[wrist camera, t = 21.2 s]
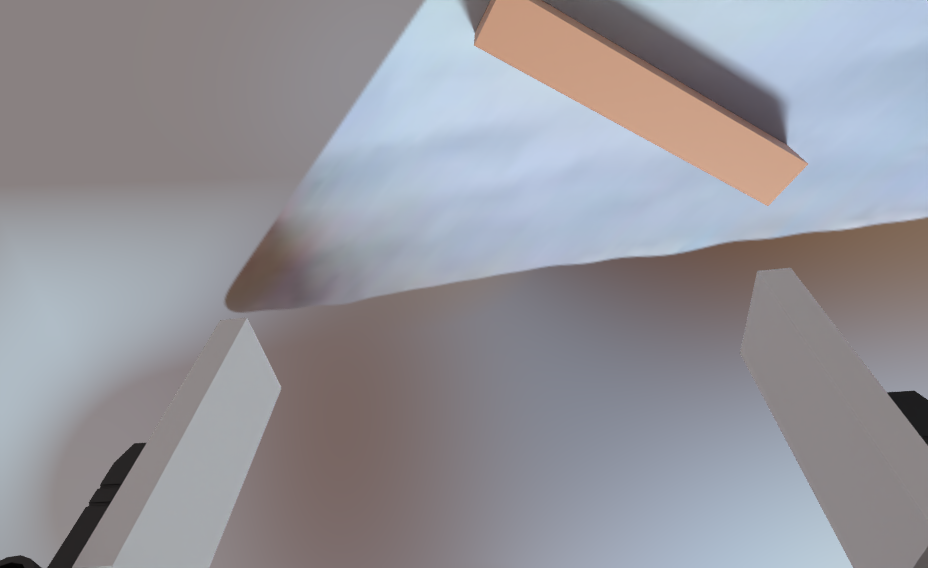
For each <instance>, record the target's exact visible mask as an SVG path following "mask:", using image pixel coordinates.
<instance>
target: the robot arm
mask: <svg viewBox="0 0 928 568" xmlns="http://www.w3.org/2000/svg"><path fill="white" fill-rule="evenodd" d="M740 354H741V356H742V358H743V359H744V362H745V363H746V365H747V367H748V369H749V371H750V373H751V375H752V377H753V379H754V380H755V382H756V384H757V386H758V388H759V390H760V392H761V394H762V396H763V397H764V399H765V401H766V403H767V405H768V407H769V409H770V411H771V413H772V415H773V416H774V418H775V420H776V422H777V424H778V426H779V428H780V430H781V432H782V434H783V435H784V437H785V439H786V441H787V443H788V445H789V447H790V449H791V450H792V452H793V454H794V456H795V458H796V460H797V462H798V464H799V466H800V468H801V469H802V471H803V473H804V475H805V477H806V479H807V481H808V483H809V485H810V487H811V488H812V490H813V492H814V494H815V496H816V498H817V500H818V502H819V504H820V506H821V507H822V509H823V511H824V513H825V515H826V517H827V519H828V520H829V522H830V524H831V526H832V528H833V530H834V532H835V534H836V536H837V538H838V540H839V541H840V543H841V545H842V547H843V549H844V551H845V553H846V555H847V557H848V559H849V560H850V562H851V564H852V566H853V568H928V400H927V399H926V398H924V397H922V396H921V395H920V394H918V393H917V392H915V391H903V392H889V393H887V392H886V391H885V390H884V389H883V387H882V386H881V385H880V383H879V382H878V381H877V379H876V378H875V377H874V375H872V373H871V371H870V370H869V369H868V368H867V366H866V365H865V364H864V362H863V361H862V360H861V359H860V357H859V356H858V355H857V353H856V352H855V351H854V349H853V348H852V347H851V346H850V344H849V343H848V342H847V340H846V339H845V338H844V337H843V335H842V334H841V333H840V332H839V330H838V329H837V327H836V326H835V325H834V323H833V322H832V321H831V320H830V318H829V317H828V316H827V314H826V313H825V312H824V310H823V309H822V308H821V307H820V305H819V304H818V303H817V302H816V300H815V299H814V298H813V296H812V295H811V294H810V292H809V291H808V290H807V288H806V287H805V286H804V285H803V283H802V282H801V281H800V279H799V278H798V277H797V275H796V274H795V273H794V272H793V270H792V269H791V268H785V269H774V270H763V271H757V275H756V280H755V285H754V290H753V295H752V299H751V304H750V309H749V313H748V318H747V323H746V328H745V332H744V337H743V342H742V346H741V351H740ZM280 390H281V386H280V384H279V382H278V380H277V378H276V376H275V374H274V372H273V370H272V368H271V366H270V363H269V361H268V359H267V357H266V355H265V354H264V351H263V349H262V347H261V345H260V343H259V341H258V339H257V337H256V335H255V333H254V331H253V329H252V327H251V325H250V323H249V321H248V319H247V318H240V319H229V320H220V322H219V323H218V325H217V327H216V328H215V330H214V332H213V334H212V335H211V337H210V338H209V340H208V342H207V343H206V345H205V347H204V348H203V350H202V352H201V353H200V355H199V357H198V358H197V360H196V362H195V363H194V365H193V367H192V368H191V370H190V372H189V374H188V375H187V377H186V378H185V380H184V382H183V383H182V385H181V387H180V388H179V390H178V392H177V393H176V395H175V397H174V398H173V400H172V402H171V404H170V405H169V407H168V408H167V410H166V412H165V413H164V415H163V417H162V418H161V420H160V422H159V423H158V425H157V427H156V428H155V430H154V432H153V433H152V435H151V437H150V438H149V440H148V442H147V443H135V444H133V445H132V446H131V447H130V448H129V449H128V450H127V451H126V452H125V453H124V454H123V455H122V456H121V457H120V458H119V459H118V460H117V461H116V462H115V463H114V464H113V465H112V467H111V469H110V470H109V472H108V473H107V475H106V476H105V478H104V480H103V481H102V483H101V485H100V486H101V487H100V489H97V491H96V492H95V494H94V495H93V497H92V498H91V500H90V502H89V506H88V507H86V508H85V509H84V511H83V513H82V514H81V516H80V517H79V519H78V520H77V522H76V524H75V525H74V527H73V528H72V530H71V531H70V533H69V535H68V536H67V538H66V539H65V541H64V542H63V544H62V546H61V547H60V549H59V550H58V552H57V553H56V555H55V557H54V558H53V560H52V561H51V563H50V564H49V566H48V568H209V567H210V564H211V562H212V559H213V556H214V554H215V552H216V549H217V547H218V544H219V542H220V540H221V537H222V534H223V532H224V530H225V527H226V525H227V522H228V519H229V517H230V514H231V512H232V510H233V507H234V505H235V502H236V500H237V497H238V495H239V492H240V490H241V487H242V485H243V482H244V480H245V477H246V475H247V472H248V470H249V467H250V465H251V462H252V460H253V457H254V455H255V452H256V450H257V447H258V445H259V442H260V440H261V438H262V435H263V433H264V430H265V427H266V425H267V423H268V420H269V418H270V415H271V413H272V410H273V408H274V405H275V403H276V400H277V398H278V395H279V392H280ZM0 568H41V567H40V566H39V565H37V564H36V563H35V562H34V561H32V560H31V559H30V558H27V557H24V556H21V555H20V556H14V557H7V558H5V559H3V560H0Z"/></svg>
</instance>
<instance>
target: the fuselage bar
mask: <svg viewBox="0 0 928 568" xmlns="http://www.w3.org/2000/svg"><path fill="white" fill-rule="evenodd" d="M474 46H476V47H478V48H480V49H482V50H484V51H485V52H487V53H489V54H491V55H493V56H495V57H496V58H498V59H500V60H502V61H504V62H505V63H507V64H509V65H511V66H513V67H515V68H516V69H518V70H520V71H522V72H524V73H526V74H527V75H529V76H531V77H533V78H535V79H537V80H538V81H540V82H542V83H544V84H546V85H548V86H549V87H551V88H553V89H555V90H557V91H558V92H560V93H562V94H564V95H566V96H568V97H569V98H571V99H573V100H575V101H577V102H579V103H580V104H582V105H584V106H586V107H588V108H590V109H591V110H593V111H595V112H597V113H599V114H601V115H602V116H604V117H606V118H608V119H610V120H611V121H613V122H615V123H617V124H619V125H621V126H622V127H624V128H626V129H628V130H630V131H632V132H633V133H635V134H637V135H639V136H641V137H643V138H644V139H646V140H648V141H650V142H652V143H654V144H655V145H657V146H659V147H661V148H663V149H665V150H666V151H668V152H670V153H672V154H674V155H675V156H677V157H679V158H681V159H683V160H685V161H686V162H688V163H690V164H692V165H694V166H696V167H697V168H699V169H701V170H703V171H705V172H707V173H708V174H710V175H712V176H714V177H716V178H718V179H719V180H721V181H723V182H725V183H727V184H728V185H730V186H732V187H734V188H736V189H738V190H739V191H741V192H743V193H745V194H747V195H749V196H750V197H752V198H754V199H756V200H758V201H760V202H761V203H763V204H765V205H767V206H769V205H770V204H771V203H772V201H773V200H774V199H775V198H776V197H777V196H778V195H779V194H780V193H781V192H782V191H783V190H784V189H785V188H786V187H787V186H788V185H789V184H790V183H791V182H792V181H793V180H794V178H795V177H796V176H797V175H798V174H799V173H800V172H801V171H802V170H803V169H804V168H805V167H806V166H807V165H808V163H807V162H806V161H804V160H803V159H802V158H801V157H800V156H799V155H798V154H797V153H795V152H794V151H793V150H792V149H791V148H790V147H789V146H788V145H786V144H785V143H783V142H781V141H780V140H778V139H776V138H774V137H773V136H771V135H769V134H768V133H766V132H764V131H763V130H761V129H759V128H758V127H756V126H754V125H752V124H751V123H749V122H747V121H746V120H744V119H742V118H741V117H739V116H737V115H735V114H734V113H732V112H730V111H729V110H727V109H725V108H724V107H722V106H720V105H719V104H717V103H715V102H713V101H712V100H710V99H708V98H707V97H705V96H703V95H702V94H700V93H698V92H697V91H695V90H693V89H691V88H690V87H688V86H686V85H685V84H683V83H681V82H680V81H678V80H676V79H674V78H673V77H671V76H669V75H668V74H666V73H664V72H663V71H661V70H659V69H658V68H656V67H654V66H652V65H651V64H649V63H647V62H646V61H644V60H642V59H641V58H639V57H637V56H635V55H634V54H632V53H630V52H629V51H627V50H625V49H624V48H622V47H620V46H619V45H617V44H615V43H613V42H612V41H610V40H608V39H607V38H605V37H603V36H602V35H600V34H598V33H597V32H595V31H593V30H591V29H590V28H588V27H586V26H585V25H583V24H581V23H580V22H578V21H576V20H574V19H573V18H571V17H569V16H568V15H566V14H564V13H563V12H561V11H559V10H558V9H556V8H554V7H552V6H551V5H549V4H547V3H546V2H544V1H542V0H491V1H490V3H489V5H488V7H487V9H486V11H485V13H484V15H483V17H482V19H481V21H480V23H479V25H478V27H477V30H476V32H475V39H474Z"/></svg>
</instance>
